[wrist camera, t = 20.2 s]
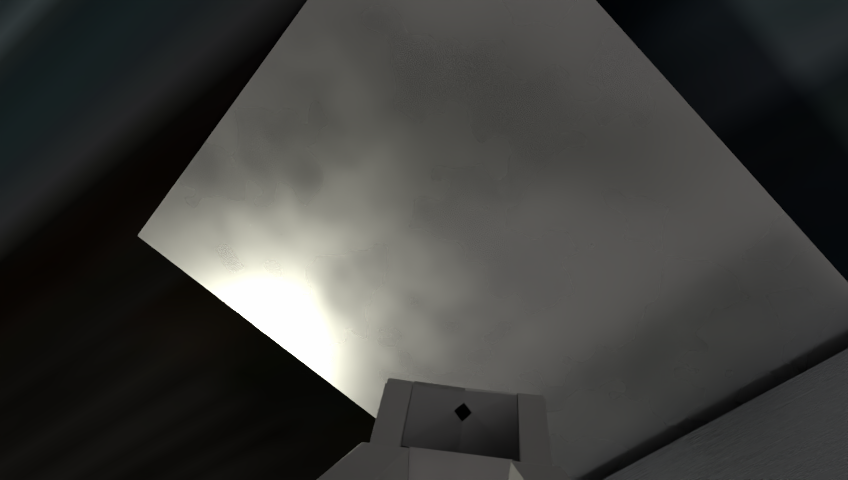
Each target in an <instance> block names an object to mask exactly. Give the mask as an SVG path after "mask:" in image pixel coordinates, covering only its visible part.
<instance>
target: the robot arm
mask: <svg viewBox="0 0 848 480" xmlns="http://www.w3.org/2000/svg"><path fill="white" fill-rule="evenodd" d="M317 480H571V479H570V478H569V476H568V475H567V474H566V473H565V472H564V470H563V469H562V468H561V467H556V466H553V465H552V456H551V447H550V438H549V429H548V420H547V410H546V401H545V398H544V397H543V395H533V394H523V393H517V394H516V393H510V392H500V391H491V390H481V389H472V388H462V387H455V386H447V385H440V384H433V383H426V382H418V381H414V382H413V381H407V380H400V379H393V378H388V380H387V382H386V383H385V387H384V391H383V395H382V398H381V402H380V406H379V410H378V413H377V417H376V421H375V425H374V428H373V432H372V436H371V440H370V443H364V442H362V443H360V444H359V445H358V446H357V447H355V448H354V449H353V450H352V451H351V452H349V453H348V454H347V455H346V456H345V457H343V458H342V459H341V460H340V461H339V462H337V463H336V464H335V465H334V466H333V467H331V468H330V469H329V470H328V471H327V472H325V473H324V474H323V475H322V476H321V477H319V478H318V479H317Z"/></svg>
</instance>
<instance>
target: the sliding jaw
mask: <svg viewBox="0 0 848 480" xmlns="http://www.w3.org/2000/svg"><path fill="white" fill-rule="evenodd" d="M603 480H848V349H846V350H844V351H842V352H840V353H838V354H837V355H835V356H833V357H831V358H829V359H827V360H825V361H823V362H822V363H820V364H818V365H816V366H814V367H812V368H810V369H808V370H807V371H805V372H803V373H801V374H799V375H797V376H795V377H794V378H792V379H790V380H788V381H786V382H784V383H782V384H780V385H779V386H777V387H775V388H773V389H771V390H769V391H767V392H765V393H764V394H762V395H760V396H758V397H756V398H754V399H752V400H751V401H749V402H747V403H745V404H743V405H741V406H739V407H737V408H736V409H734V410H732V411H730V412H728V413H726V414H724V415H722V416H721V417H719V418H717V419H715V420H713V421H711V422H709V423H708V424H706V425H704V426H702V427H700V428H698V429H696V430H694V431H693V432H691V433H689V434H687V435H685V436H683V437H681V438H679V439H678V440H676V441H674V442H672V443H670V444H668V445H666V446H665V447H663V448H661V449H659V450H657V451H655V452H653V453H651V454H650V455H648V456H646V457H644V458H642V459H640V460H638V461H636V462H635V463H633V464H631V465H629V466H627V467H625V468H623V469H622V470H620V471H618V472H616V473H614V474H612V475H610V476H608V477H607V478H605V479H603Z"/></svg>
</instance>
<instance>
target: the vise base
mask: <svg viewBox="0 0 848 480" xmlns="http://www.w3.org/2000/svg"><path fill="white" fill-rule="evenodd" d="M138 236H139V237H140V238H141V239H143V240H144V241H145V242H147V243H148V244H149V245H150V246H152V247H153V248H154V249H156V250H157V251H158V252H160V253H161V254H162V255H163V256H165V257H166V258H167V259H169V260H170V261H171V262H173V263H174V264H175V265H177V266H178V267H179V268H180V269H182V270H183V271H184V272H186V273H187V274H188V275H190V276H191V277H192V278H194V279H195V280H196V281H197V282H199V283H200V284H201V285H203V286H204V287H205V288H207V289H208V290H209V291H210V292H212V293H213V294H214V295H216V296H217V297H218V298H220V299H221V300H222V301H224V302H225V303H226V304H227V305H229V306H230V307H231V308H233V309H234V310H235V311H237V312H238V313H239V314H241V315H242V316H243V317H244V318H246V319H247V320H248V321H250V322H251V323H252V324H254V325H255V326H256V327H257V328H259V329H260V330H261V331H263V332H264V333H265V334H267V335H268V336H269V337H271V338H272V339H273V340H274V341H276V342H277V343H278V344H280V345H281V346H282V347H284V348H285V349H286V350H288V351H289V352H290V353H291V354H293V355H294V356H295V357H297V358H298V359H299V360H301V361H302V362H303V363H304V364H306V365H307V366H308V367H310V368H311V369H312V370H314V371H315V372H316V373H318V374H319V375H320V376H321V377H323V378H324V379H325V380H327V381H328V382H329V383H331V384H332V385H333V386H335V387H336V388H337V389H338V390H340V391H341V392H342V393H344V394H345V395H346V396H348V397H349V398H350V399H351V400H353V401H354V402H355V403H357V404H358V405H359V406H361V407H362V408H363V409H365V410H366V411H367V412H368V413H370V414H371V415H372V416H374V417H375V418H376V417H377V413H378V410H379V406H380V402H381V398H382V395H383V391H384V387H385V383H386V382H387V380H388V378H393V379H400V380H407V381H413V382H414V381H418V382H426V383H433V384H440V385H447V386H455V387H462V388H472V389H481V390H491V391H500V392H510V393H516V394H517V393H523V394H533V395H543V397H544V398H545V401H546V410H547V420H548V429H549V438H550V447H551V456H552V465H553V466H556V467H561V468H562V469H563V470H564V472H565V473H566V474H567V475H568V476H569V478H570V479H571V480H603V479H605V478H607V477H608V476H610V475H612V474H614V473H616V472H618V471H620V470H622V469H623V468H625V467H627V466H629V465H631V464H633V463H635V462H636V461H638V460H640V459H642V458H644V457H646V456H648V455H650V454H651V453H653V452H655V451H657V450H659V449H661V448H663V447H665V446H666V445H668V444H670V443H672V442H674V441H676V440H678V439H679V438H681V437H683V436H685V435H687V434H689V433H691V432H693V431H694V430H696V429H698V428H700V427H702V426H704V425H706V424H708V423H709V422H711V421H713V420H715V419H717V418H719V417H721V416H722V415H724V414H726V413H728V412H730V411H732V410H734V409H736V408H737V407H739V406H741V405H743V404H745V403H747V402H749V401H751V400H752V399H754V398H756V397H758V396H760V395H762V394H764V393H765V392H767V391H769V390H771V389H773V388H775V387H777V386H779V385H780V384H782V383H784V382H786V381H788V380H790V379H792V378H794V377H795V376H797V375H799V374H801V373H803V372H805V371H807V370H808V369H810V368H812V367H814V366H816V365H818V364H820V363H822V362H823V361H825V360H827V359H829V358H831V357H833V356H835V355H837V354H838V353H840V352H842V351H844V350H846V349H848V282H847V281H846V280H845V279H844V278H843V276H842V275H841V274H840V273H839V272H838V271H837V270H836V269H835V268H834V266H833V265H832V264H831V263H830V262H829V261H828V260H827V259H826V257H825V256H824V255H823V254H822V253H821V252H820V251H819V250H818V248H817V247H816V246H815V245H814V244H813V243H812V242H811V241H810V240H809V238H808V237H807V236H806V235H805V234H804V233H803V232H802V231H801V229H800V228H799V227H798V226H797V225H796V224H795V223H794V222H793V221H792V219H791V218H790V217H789V216H788V215H787V214H786V213H785V212H784V210H783V209H782V208H781V207H780V206H779V205H778V204H777V203H776V201H775V200H774V199H773V198H772V197H771V196H770V195H769V194H768V193H767V191H766V190H765V189H764V188H763V187H762V186H761V185H760V184H759V182H758V181H757V180H756V179H755V178H754V177H753V176H752V175H751V173H750V172H749V171H748V170H747V169H746V168H745V167H744V166H743V165H742V163H741V162H740V161H739V160H738V159H737V158H736V157H735V156H734V154H733V153H732V152H731V151H730V150H729V149H728V148H727V147H726V146H725V144H724V143H723V142H722V141H721V140H720V139H719V138H718V137H717V135H716V134H715V133H714V132H713V131H712V130H711V129H710V128H709V126H708V125H707V124H706V123H705V122H704V121H703V120H702V119H701V118H700V116H699V115H698V114H697V113H696V112H695V111H694V110H693V109H692V107H691V106H690V105H689V104H688V103H687V102H686V101H685V100H684V99H683V97H682V96H681V95H680V94H679V93H678V92H677V91H676V90H675V88H674V87H673V86H672V85H671V84H670V83H669V82H668V81H667V79H666V78H665V77H664V76H663V75H662V74H661V73H660V72H659V71H658V69H657V68H656V67H655V66H654V65H653V64H652V63H651V62H650V60H649V59H648V58H647V57H646V56H645V55H644V54H643V53H642V51H641V50H640V49H639V48H638V47H637V46H636V45H635V44H634V43H633V41H632V40H631V39H630V38H629V37H628V36H627V35H626V34H625V32H624V31H623V30H622V29H621V28H620V27H619V26H618V25H617V24H616V22H615V21H614V20H613V19H612V18H611V17H610V16H609V15H608V13H607V12H606V11H605V10H604V9H603V8H602V7H601V6H600V4H599V3H598V2H597V1H596V0H307V2H306V3H305V4H304V6H303V7H302V9H301V10H300V11H299V13H298V14H297V16H296V17H295V18H294V20H293V21H292V22H291V24H290V25H289V27H288V28H287V29H286V31H285V32H284V34H283V35H282V36H281V38H280V39H279V40H278V42H277V43H276V45H275V46H274V47H273V49H272V50H271V52H270V53H269V54H268V56H267V57H266V58H265V60H264V61H263V63H262V64H261V65H260V67H259V68H258V70H257V71H256V72H255V74H254V75H253V76H252V78H251V79H250V81H249V82H248V83H247V85H246V86H245V88H244V89H243V90H242V92H241V93H240V94H239V96H238V97H237V99H236V100H235V101H234V103H233V104H232V106H231V107H230V108H229V110H228V111H227V113H226V114H225V115H224V117H223V118H222V119H221V121H220V122H219V124H218V125H217V126H216V128H215V129H214V131H213V132H212V133H211V135H210V136H209V137H208V139H207V140H206V142H205V143H204V144H203V146H202V147H201V149H200V150H199V151H198V153H197V154H196V155H195V157H194V158H193V160H192V161H191V162H190V164H189V165H188V167H187V168H186V169H185V171H184V172H183V173H182V175H181V176H180V178H179V179H178V180H177V182H176V183H175V185H174V186H173V187H172V189H171V190H170V191H169V193H168V194H167V196H166V197H165V198H164V200H163V201H162V203H161V204H160V205H159V207H158V208H157V210H156V211H155V212H154V214H153V215H152V216H151V218H150V219H149V221H148V222H147V223H146V225H145V226H144V228H143V229H142V230H141V232H140V233H139V234H138Z"/></svg>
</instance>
